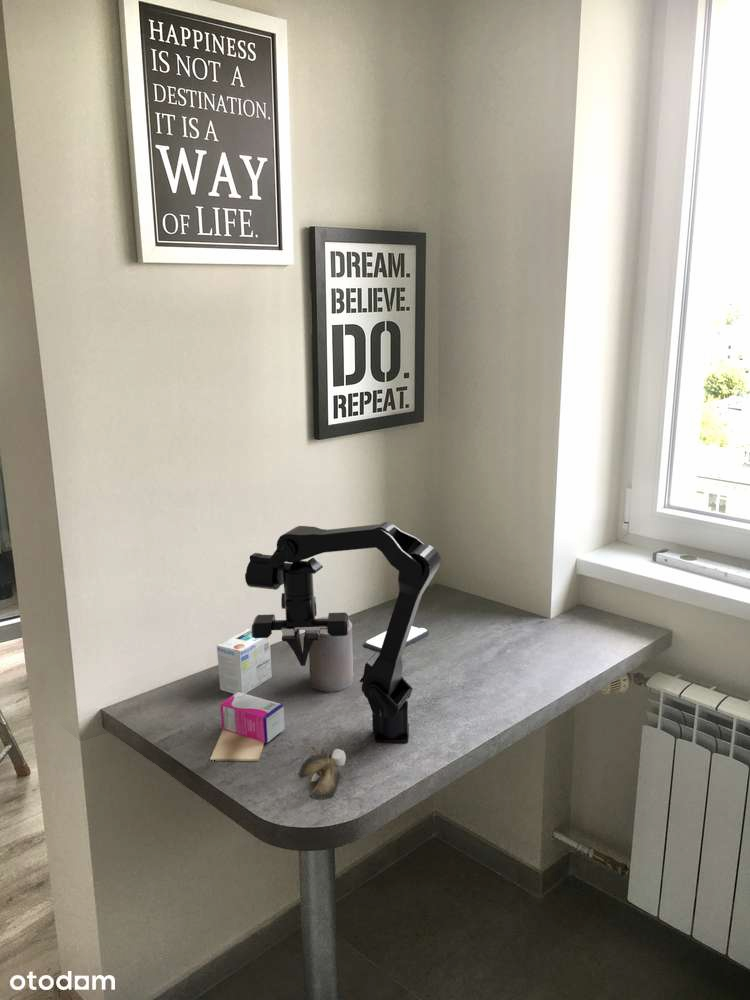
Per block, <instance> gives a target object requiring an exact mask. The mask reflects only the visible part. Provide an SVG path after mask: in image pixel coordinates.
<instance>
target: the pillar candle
mask: <svg viewBox="0 0 750 1000" xmlns="http://www.w3.org/2000/svg"><path fill="white" fill-rule="evenodd" d="M316 619H328V616H321V617H318V618H316ZM308 657H309V659H308V660H309V662H308V663H309V684H310V686H311V687H312V688H313V689H315V690H317V691H320V692H325V693H329V692H330V693H332V692H340V691H345V690H346V689H349V687H351V686H352V684H353V681H354V670H353V669H354V668H353V665H354V664H353V662H354V661H353V659H354V658H353V623H352V622H351V621H350V620H349V629H348V635H346V636H331V635H330V634H329V633H328V632H327V629H321V631H320V636H319V640H314V641H313V643H312V645H311V648H310V650H309V653H308Z"/></svg>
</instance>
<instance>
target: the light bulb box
mask: <svg viewBox="0 0 750 1000" xmlns="http://www.w3.org/2000/svg"><path fill="white" fill-rule="evenodd" d="M270 639H271V638H270V636H269V637H268V638H253V637H252V628H246V629H244V630H242V631H241V632H239V633H237V634H236V635H234V636H232V637H230V638H228V639H226V640H225V641H223V642H221V643H219V644H216V653H217V654H216V655H217V663H218V676H219V689H220V690H221V691H224V692H227V693H230V694H232V695H234V694H236V693H237V692H240V693H243V694H248V693H249V692H252V691H253V689H256V688H258V687H259V686H260V685H262V684H264V683H265V682H266V681H268V680H269V679H271V678H272V676H273V675H272V658H271V656H272V654H271V641H270Z"/></svg>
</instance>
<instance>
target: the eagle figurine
mask: <svg viewBox="0 0 750 1000" xmlns="http://www.w3.org/2000/svg"><path fill="white" fill-rule="evenodd" d="M311 749H312V751H313V752H314V753H315V754H312V755H310V756H309V757H308V758H306V759H305V760H304V762H303V763H302V765H300V768H299V770H298V771H299V772H298V773H297V776H298V777H299V778H300V779H302V778H306V777H310V776H312V777H311V779H310V782H311V783H313V782H316V781H317V780H318V779H319V780H318V782H317V784H316V785H315V786H314V788H313V790H311V792H310V796H311V798H312V799H313V800H315V801H316V800H317V801H321V800H322V801H323V800H325V799H329V797H333V795H334V794H335V793H336V792H337V788H338V786H339V782H340V780H341V772H340V771H339V769H338V767H344V766H345V764H346V758H347V756H346V752H345V751H344V750H342V749H341V748H340V749H339V748H335V749H334V750H333V751H332V752H331V753H330V754H328V753H327V752H326V750H325V748H322V749H321V752H320V751H319V750H317V749H316V747H315V746H313V745H311Z"/></svg>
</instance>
